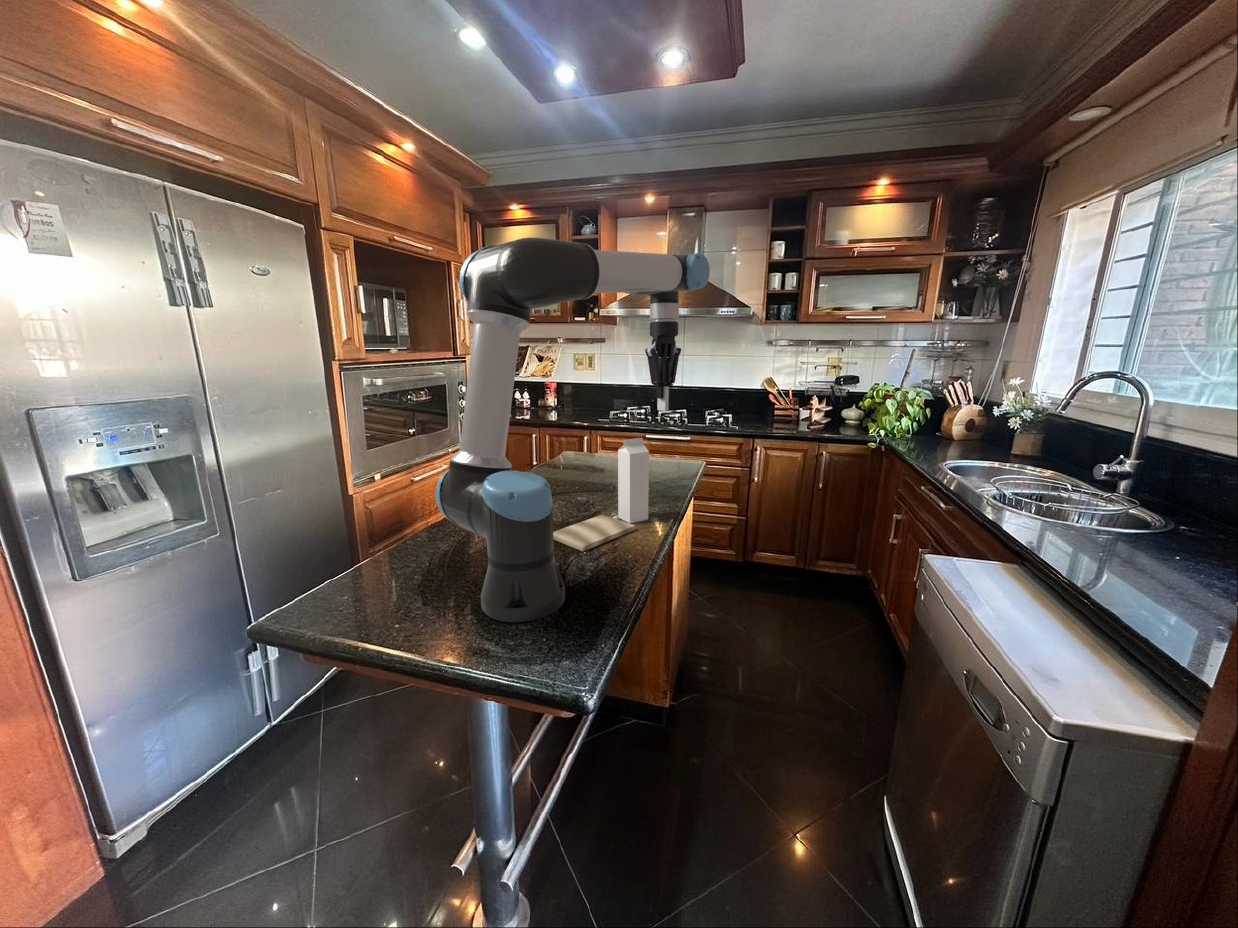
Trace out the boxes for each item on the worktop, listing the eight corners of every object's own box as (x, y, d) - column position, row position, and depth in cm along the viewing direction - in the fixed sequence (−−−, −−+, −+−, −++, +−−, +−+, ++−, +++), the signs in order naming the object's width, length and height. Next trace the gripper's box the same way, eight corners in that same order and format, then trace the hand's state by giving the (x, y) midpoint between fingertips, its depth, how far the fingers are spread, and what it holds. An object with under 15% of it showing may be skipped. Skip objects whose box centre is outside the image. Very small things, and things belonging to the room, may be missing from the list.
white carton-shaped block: (618, 517, 131) (617, 438, 126) (636, 513, 134) (636, 435, 129) (630, 524, 126) (629, 441, 121) (649, 519, 129) (649, 439, 124)
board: (582, 551, 109) (582, 546, 109) (549, 537, 117) (549, 533, 117) (635, 529, 122) (635, 525, 122) (601, 518, 130) (601, 514, 130)
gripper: (667, 322, 133) (666, 406, 139) (637, 321, 124) (637, 411, 130) (690, 321, 128) (687, 409, 134) (659, 319, 119) (658, 414, 125)
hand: (662, 410), depth 132 cm, fingers closed
